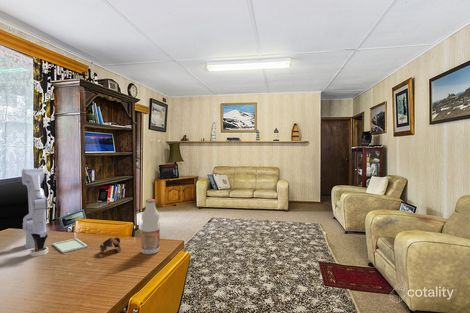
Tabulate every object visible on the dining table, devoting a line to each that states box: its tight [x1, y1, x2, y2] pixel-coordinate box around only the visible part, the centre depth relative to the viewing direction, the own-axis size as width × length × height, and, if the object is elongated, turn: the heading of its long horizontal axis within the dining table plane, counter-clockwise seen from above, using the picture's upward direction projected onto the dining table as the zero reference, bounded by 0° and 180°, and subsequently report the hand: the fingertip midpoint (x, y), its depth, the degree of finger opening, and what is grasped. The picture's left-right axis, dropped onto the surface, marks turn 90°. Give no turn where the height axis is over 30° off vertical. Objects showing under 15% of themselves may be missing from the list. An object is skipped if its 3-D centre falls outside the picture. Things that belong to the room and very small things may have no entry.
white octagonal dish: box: [29, 246, 49, 257], centre depth 134 cm, size 7×7×2 cm
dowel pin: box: [35, 240, 45, 252], centre depth 134 cm, size 4×4×8 cm
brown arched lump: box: [99, 236, 122, 254], centre depth 140 cm, size 12×10×8 cm
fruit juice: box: [140, 198, 161, 255], centre depth 140 cm, size 9×9×28 cm
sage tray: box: [52, 238, 89, 254], centre depth 145 cm, size 18×12×2 cm, turn 49°
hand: (39, 247), depth 134 cm, fingers closed on dowel pin, 4 cm apart
